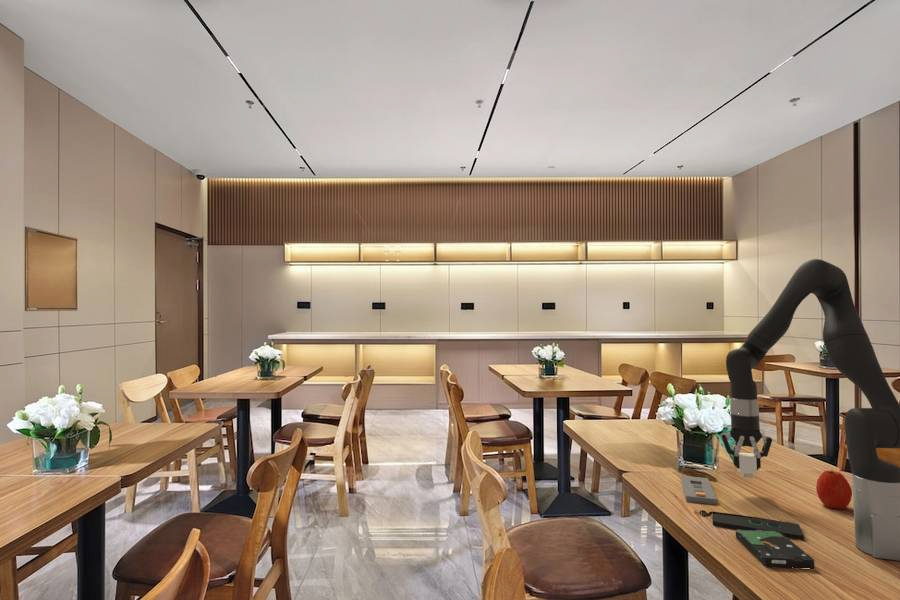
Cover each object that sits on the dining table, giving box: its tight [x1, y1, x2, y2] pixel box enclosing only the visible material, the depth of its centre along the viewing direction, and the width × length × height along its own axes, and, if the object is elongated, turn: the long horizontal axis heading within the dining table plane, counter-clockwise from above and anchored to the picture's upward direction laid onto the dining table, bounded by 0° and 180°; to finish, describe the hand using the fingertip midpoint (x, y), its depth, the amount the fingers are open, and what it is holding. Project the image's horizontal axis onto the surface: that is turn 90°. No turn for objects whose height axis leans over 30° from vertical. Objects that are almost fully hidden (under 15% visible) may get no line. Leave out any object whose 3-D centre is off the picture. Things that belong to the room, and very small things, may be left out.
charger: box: [737, 452, 758, 479], centre depth 146 cm, size 4×4×6 cm
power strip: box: [680, 475, 718, 517], centre depth 145 cm, size 26×8×4 cm, turn 158°
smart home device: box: [711, 511, 805, 541], centre depth 126 cm, size 8×2×20 cm
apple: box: [815, 470, 853, 510], centre depth 138 cm, size 8×8×11 cm
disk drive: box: [735, 529, 816, 570], centre depth 112 cm, size 10×3×15 cm
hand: (747, 468), depth 146 cm, fingers closed on charger, 4 cm apart
